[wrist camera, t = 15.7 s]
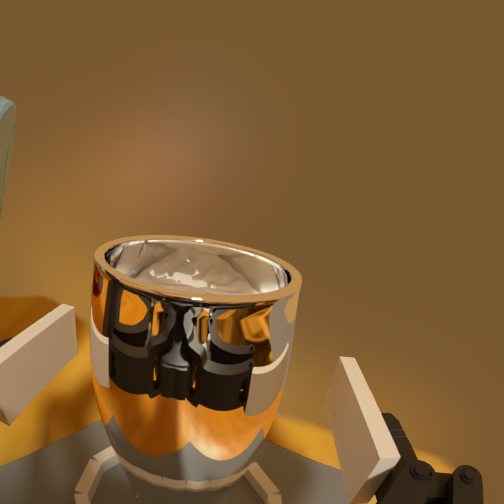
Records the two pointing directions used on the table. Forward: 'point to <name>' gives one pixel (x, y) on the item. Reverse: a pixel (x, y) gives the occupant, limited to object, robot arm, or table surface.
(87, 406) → the table surface
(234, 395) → the beer glass
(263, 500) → the coaster board
